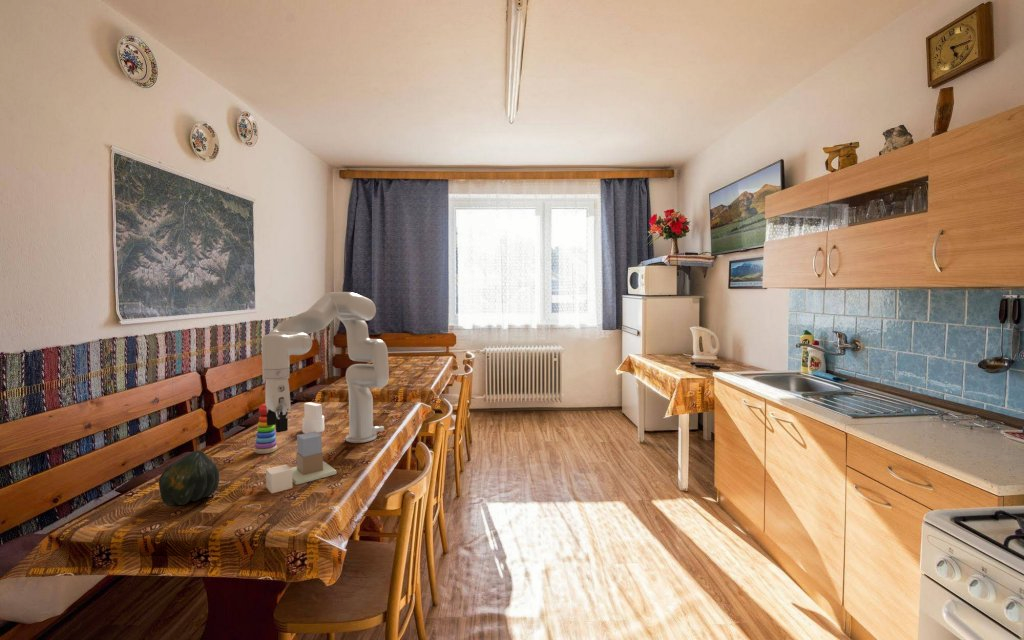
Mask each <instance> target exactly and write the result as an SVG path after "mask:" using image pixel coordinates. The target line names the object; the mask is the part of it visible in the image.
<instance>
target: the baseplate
mask: <svg viewBox="0 0 1024 640" xmlns="http://www.w3.org/2000/svg"><path fill="white" fill-rule="evenodd" d="M323 455H324V453H323V452H322V453H319V454H315V455H311V456H306V457H302V456H301V455H300V454H299V453H297V452H296V466H292V467H290V468H291V469H292V483H293V484H294V485H295V486H296V485H297V486H298V485H301V484H304V483H307V482H312V481H316V480H318V479H319V480H320V479H322V478H323V479H324V478H326V477H330V476H333V475H337V470H336V469H335V468H333V467H332V466H331V465H330V464H328V463H327V462H325V461H324V456H323Z"/></svg>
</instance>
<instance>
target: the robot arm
mask: <svg viewBox="0 0 1024 640" xmlns="http://www.w3.org/2000/svg"><path fill="white" fill-rule="evenodd" d="M376 312H377V307H376V305H375V302H374V301H373V300H372V299H370V298H368V297H365V296H364V295H360V294H358V293H355V292H353V291H352V292H351V291H330V292H327V293H325V294H324V295H322V296H320V298H319V299H318V300H317V301H316V302H315V303H314V304H313V305H311V307H309V308H308V309H307V310H306V311H304V312H301V313H298V314H296V315H294V316H292V317H289V318H287V319H285V320H283V321H281V322H279V323H278V324H277V325H276V326H275V327H274V328H273V329H271V331H270V332H269V333H268V334H265V335H263V337H262V338H261V357H262V358H261V361H262V362H261V363H262V364H261V366H262V369H261V370H262V380H263V381H265V389H264V390H265V393H264V396H265V399H264V400H265V403H266V407H267V425H268V426H270V425H274V426H275V433H284V432H287V431H288V421H289V420H288V418H289V417H288V411H290V409H291V393H290V392H291V391H290V383H289V379H290V373H291V372H290V370H291V367H290V361H291V360H290V356H302V355H305V354H307V353H308V352H309V351H311V349H312V346H313V339H312V337H311V336H310V335H309V334H312V333H317V332H319V331H323V330H325V328H327V327H328V326H329V325H330V324H331V322H333V321H334V319H335V318H336V319H338V320H340V322H341V323H342V324H343V326H344V327H345V330H346V343H347V353H348V354H347V355H348V358H349V360H350V361H351V360H352V361H353V362H361V363H354V364H351V365H350V366H348V368H347V369H346V371H345V381H346V385H347V390H348V425H349V426H348V430H349V432H348V434H347V435H345V442H348V443H352V444H360V443H368V442H371V441H374V440H375V439H377V438H378V435H377V433H378V432H381V431H384V430H385V427H384V426H383V425H380V426H379V425H375V426H374V414H373V413H374V411H373V410H374V408H373V407H374V405H373V404H374V402H373V401H374V399H373V397H374V396H373V394H372V391H371V390H370V388H372V389H373V388H377V389H380V388H384V387H385V386H387V385H388V383H389V378H390V371H389V368H390V366H389V352H388V351H389V350H388V347H387V344H386V342H385V341H383V339H380V338H370V335H369V329H368V328H369V326H368V323H367V322H366V321H372V319H373V318H374V317H375V316H376V314H377V313H376ZM362 362H364V363H362ZM365 362H366V363H365ZM368 363H369V364H368ZM370 363H372V364H370Z"/></svg>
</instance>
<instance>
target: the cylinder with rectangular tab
mask: <svg viewBox="0 0 1024 640" xmlns="http://www.w3.org/2000/svg"><path fill="white" fill-rule="evenodd" d="M303 406H304V407H303V408H304V416H303V417H302V418H301V424H302V426H301V427H302V428H301V430H302V434H305V433H310V432H317V433H318V434H320V433H322V432H324V431H325V415H323V405H322V404H320V403H316V402H312V401H310V402H304V405H303Z"/></svg>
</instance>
